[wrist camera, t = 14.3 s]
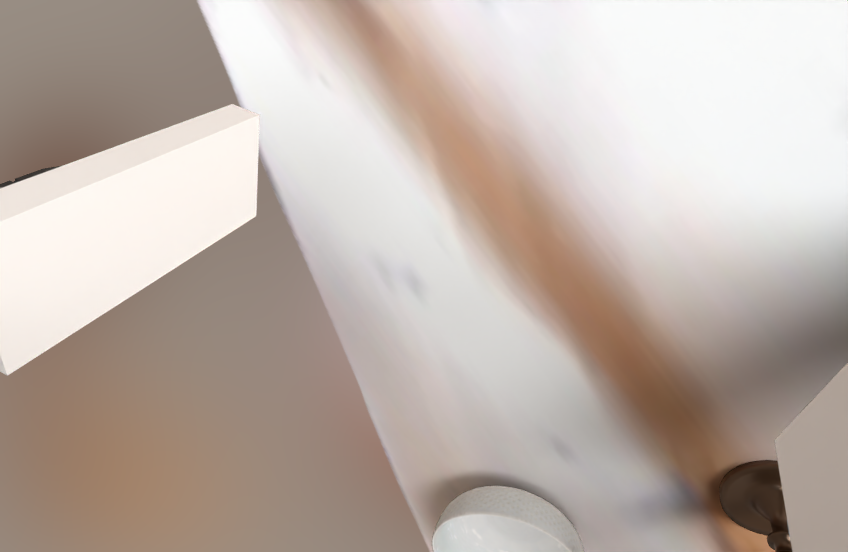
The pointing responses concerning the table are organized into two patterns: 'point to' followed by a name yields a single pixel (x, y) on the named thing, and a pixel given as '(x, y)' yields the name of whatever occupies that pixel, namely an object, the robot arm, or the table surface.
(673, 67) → the table surface
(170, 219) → the robot arm
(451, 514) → the cereal bowl
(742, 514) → the candlestick
